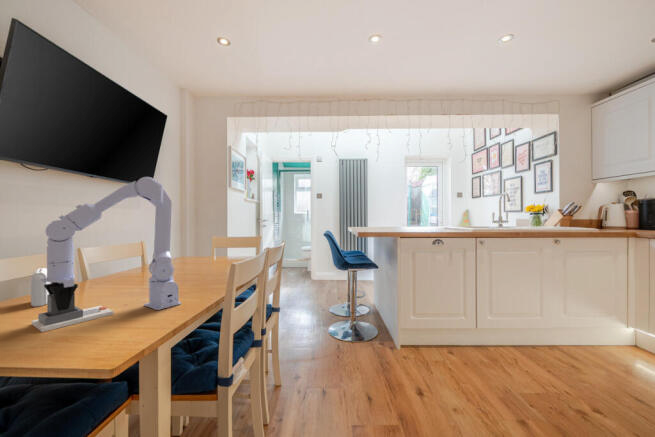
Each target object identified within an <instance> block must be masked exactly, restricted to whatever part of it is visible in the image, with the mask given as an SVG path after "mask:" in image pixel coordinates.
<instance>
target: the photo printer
mask: <svg viewBox="0 0 655 437" xmlns="http://www.w3.org/2000/svg"><path fill="white" fill-rule="evenodd" d="M45 278H47V267H41V268H40V267H39V268H37V269H36V270H34V271H33V273H32V274H31V275H30V305H31V307H35V308H36V307H42V306H45V305H47V295H49V293H48V291H47V289H46V288H45V287H44V285H46V284H51V282H41V279H45Z"/></svg>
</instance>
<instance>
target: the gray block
mask: <svg viewBox="0 0 655 437" xmlns="http://www.w3.org/2000/svg"><path fill="white" fill-rule="evenodd" d="M75 293H76V292H74V293H73V296H72V299H71V302H70V306H69V309H66V310H61V311H59V310H58V308H57V305H56V299H55V296H54V294H50V295H47V304H46V306H47V307H46V308H47V309H46V312H47V316H48V317H51V316H55V315H60V314H64V313H69V312H73V311H75V304H76V303H75V300H76V299H75V297H76V296H75Z"/></svg>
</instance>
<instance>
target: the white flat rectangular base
mask: <svg viewBox="0 0 655 437" xmlns="http://www.w3.org/2000/svg"><path fill="white" fill-rule="evenodd" d="M111 315H114V310H112V309H110V308H108V307H107V306H106V305H104V306H103V305H98V306H92V307H89V308H83V309H82V308H80V307H78V306H75V311H73V312H69V313H64V314H60V315H55V316H51V317H48V316H47V311H46V312H45V311H44V312H40V313H38V316H37V318H38V319H35V320H31V325H32V326H34V327H35V328H36V329H37V330H39V331H40V332H42V333H43V332H48V331H51V330H55V329H60V328H64V327H69V326H71V325H76V324H80V323H85V322H88V321H92V320H97V319H99V318H104V317H107V316H111Z"/></svg>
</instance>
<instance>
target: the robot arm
mask: <svg viewBox="0 0 655 437" xmlns="http://www.w3.org/2000/svg"><path fill="white" fill-rule="evenodd" d="M137 197H140V198H142V199H145V200H146V201H148V202H150V203H151V205H153V206H154V207H155V215H154V216H155V217H154V219H155V220H154V221H155V222H154V245H153V255H152V260H151V263H150V264H149V266H148V270H149V272H150V274H151V276H150V277H149V279H148V288H149V290H148V294H149V296H148V301H149V302H146V303H143V306H144V307H147V308H150V309H153V310H156V311H160V310H163V309H167V308H171V307H174V306H178V305H181V304H182V302H181V301H179V285H178V283H177V282H175V281H174V276H173V275H174V272H175V268H174V264H173V263H172V255H171V234H172V232H171V231H172V230H171V227H172V207H173V206H172V205H173V203H172V200H171V198H170V196H169V195H168V194H167V192H166V190H165V189H164V187H163V184H161V183H160V182H159V181H158V180H157V179H155V178H153V177H150V176H143V177H141V178H139V179H138V180H137V181H136V180H134V181H132V182H129V183H128V184H125V185H123V186H121V187H119V188H118V189H116V190H115V191H113V192H112V193H110V194H108V195H106V197H103V198H102V199H100V200H99V201H97V202H95V203H94V204H93V203H84V204H78V205H76V207H75V208H76V209H74V210H72V211H71V212H69V213H67V214H65V215H64V214H61V215H60V216H59V217H58V220H57V219H56V220H52V221H51V223H49V224H48V225H47V226H46V228H45V234H46V236H47V237H48V238H47V241H46V243H47V246H46V269H47V278H45V279H41V282H50V284H46V285H44V287H45V288H46V289H47V291H48V293H49V295H50V294H54V296H55V299H56V305H57V308H58V310H59V311H61V310H66V309H69V306H70V302H71V299H72V296H73V293H76V290H77V288H79V286H78V284H77V283H75V279H76V275H75V245H74V237H73V236H74V235H75V233H76V232H81V231H83V230H84V229H86V228H87V227H89V226H90V225H92V224H94V223H96V222H97V221H99V220H100V219H101V218H102V215H103V212H105V211H106V210H108V209H110V208H112V207H113V206H116V205H117V204H118V203H120V202H122V201H124V200H126V199H129V198H137Z"/></svg>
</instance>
